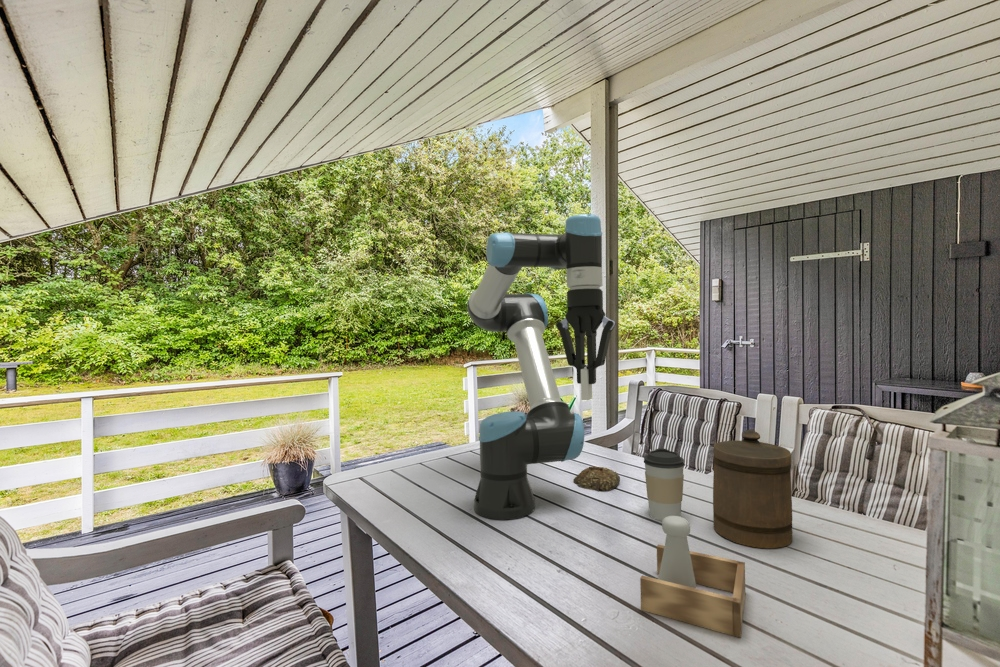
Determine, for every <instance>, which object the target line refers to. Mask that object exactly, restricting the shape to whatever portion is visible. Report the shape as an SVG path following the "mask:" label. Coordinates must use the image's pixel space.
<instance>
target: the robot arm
mask: <svg viewBox="0 0 1000 667" xmlns="http://www.w3.org/2000/svg"><path fill="white" fill-rule="evenodd" d="M601 223H602V222H601V218H600V217H599V216H598V215H596V214H590V213H582V214H581V213H580V214H574V215H571V216H569V217H567V218H566V219H565V228H564V233H562V234H556V233H555V234H554V233H553V234H552V233H551V234H549V233H548V234H546V233H522V232H521V233H520V232H518V233H515V232H508V231H506V232H497V233H496V232H494V233H492V234H490V235H489V236H488V238H487V239H486V240H487V243H486V249H485V250H486V251H485V252H486V260H487V263H488V266H487V267H486V269H485V272H484V273H483V276H482V278H481V281H480V282H479V285H478V286H477V288H476V289H475V290H473V291H472V293H471V294H470V296H469V298H468V301H467V304H466V308H467V313H468V315H469V317H470V320H471V321H472V322H473V323H474V324H475V325H476V327H477V326H478V327H479V328H481V329H482V330H485V331H487V332H493V333H495V332H496V333H497V332H498V333H499V332H503V333H504V332H506V335H507V338H508V339H509V341H510V342H513V343H514V346H515V351H516V355H517V360H518V363H519V367H520V371H521V375H522V379H523V383H524V388H525V391H526V396H527V399H528V404H529V410H528V411H527V413H525V412H523V411H517V410H516V411H514V410H513V411H503V412H497V413H493V414H491V415H488V416H487V417H485V418H483V419H482V420H481V422H480V423H479V424H480V425H479V434H478V435H479V436H478V441H479V460H480V461H479V462H480V463H479V464H480V465H479V466H480V477H479V478H480V479H479V482H478V485H477V489H476V492H475V496H474V500H473V505H474V507H473V508H474V511H475V513H476V514H478V515H479V516H481V517H484V518H488V519H493V520H514V519H520V518H523V517H527V516H529V515H530V514H532V513H533V512H534V511H535V510H536V509H535V507H536V505H535V504H536V501H535V500H536V499H535V496H534V493H533V490H532V487H531V483H530V481H529V478H528V465H535V464H544V463H555V462H561V463H563V462H565V461H569V460H576V459H577V458H578V457H579V456H580V455H581V453H582V451H583V449H584V444H585V425H584V421H583V418H582V416H581V415H580V414H579V413H576V412H571V409H570V405H569V404H568V403H567V402H565V401H564V400H562V399H561V395H560V392H559V389H558V385H557V382H556V378H555V375H554V371H553V367H552V364H551V361H550V358H549V357H550V356H549V354H548V350H547V347H546V344H545V340H544V337H543V334H544V333H545V330H546V327H548V324H549V315H548V312H549V311H548V310H549V309H548V306H547V304H546V302H545V299H544V298H543V297H542V296H541V295H540V294H536V293H529V292H526V293H508V291H509V289H510V288H511V286H512V285H513V283H514V281H515V280H516V277H518V275H519V273H520V271H521V270H522V268H551V269H553V270H566V287H567V288H568V289H569V290H567V291H566V302H567V303H566V307H567V311H566V314H565V318H563V319H562V320H561V321H558V322H556V323H555V327H556V328H557V330H558V331H559V333H560V337H561V341H562V346H563V349H564V354H565V357H566V362H567V365H568V366H572V367H574V368H575V369H576V382H577V384H578V385H579V384H580V400H581V401H589V400H592V399H593V385H595V384H596V382H597V368H598V367H599V368H600V367H602V366H603V365H605V363H606V359H607V353H608V349H609V344H610V341H611V336H612V331H613V330H614V328H615V327H616V325H617V322H616V321H615V320H612V319H610V318H609V317H607V316H606V313H605V311H604V307H603V306H604V301H603V300H604V298H603V297H604V296H603V295H604V294H603V290H602V289H601V287H602V286H603V265H602V264H603V250H602V249H603V239H602V236H603V232H602V226H601V225H602V224H601ZM601 324H602V328H603V329H602V331H601V336H600V340H599V345H598V349H597V335H598V333H597V332H598V331H597V330H598V329H599V327H600V326H601ZM570 327H571V328H572V330H573V333H574V334H573V335H574V340H575V341H574V344H575V345H574V344H573V339H572V336H571V332H570V330H569V328H570ZM585 337H586V342H585ZM585 343H586V344H585ZM574 346H575V347H574ZM585 346H586V348H585ZM585 350H586V351H585ZM585 352H586V353H585ZM586 360H587V361H586ZM586 363H587V364H586Z"/></svg>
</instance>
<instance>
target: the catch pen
mask: <svg viewBox="0 0 1000 667" xmlns="http://www.w3.org/2000/svg"><path fill="white" fill-rule="evenodd" d="M664 547H665V545H662V544H657V545H656V572H657V573H656V574H657V575H658V576H659V572H660V567H661V562H662V557H663V552H664ZM689 551H690V556H691V561H692V567H693V572H694V577H695V582H696V585H700V586H704V587H709V588H712V589H717V590H720V591H721V590H722V591H725V592H730V593H733V594H732V596H728V595H724V594H720V593H715V592H711V591H707V590H703V589H699V588H692V587H688V586H683V585H679V584H675V583H671V582H667V581H663V580H659V579H658V578H655V577H649V576H646V575H641V576H640V579H639V580H640V582H639V585H640V611H644V612H647V613H651V614H654V615H659V616H662V617H664V618H669V619H673V620H675V621H678V622H679V621H680V622H683V623H686V624H689V625H690V624H691V625H693V626H698V627H701V628H705V629H708V630H712V631H715V632H718V633H722V634H726V635H729V636H733V637H737V638H741V637H742V631H743V630H742V628H743V620H744V619H743V618H744V610H745V609H744V607H745V601H746V600H745V599H746V562H744V561H739V560H737V559H736V560H734V559H731V558H726V557H720V556H717V555H712V554H711V555H710V554H705V553H702V552H696V551H692V550H689Z"/></svg>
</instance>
